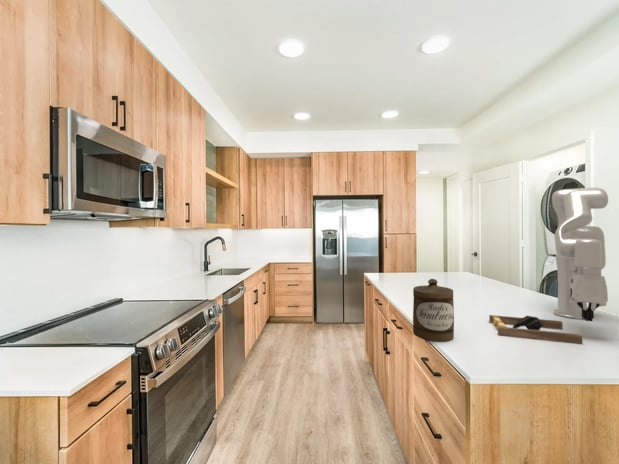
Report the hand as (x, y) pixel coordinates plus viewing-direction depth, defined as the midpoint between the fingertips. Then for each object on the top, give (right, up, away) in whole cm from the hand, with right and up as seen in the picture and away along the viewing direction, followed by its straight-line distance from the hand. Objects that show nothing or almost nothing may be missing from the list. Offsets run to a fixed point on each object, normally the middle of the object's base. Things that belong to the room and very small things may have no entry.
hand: (587, 320), depth 116 cm
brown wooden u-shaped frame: (-16, -7, +7) cm, 19 cm away
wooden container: (-57, -7, +4) cm, 58 cm away
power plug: (-19, -7, +7) cm, 21 cm away
